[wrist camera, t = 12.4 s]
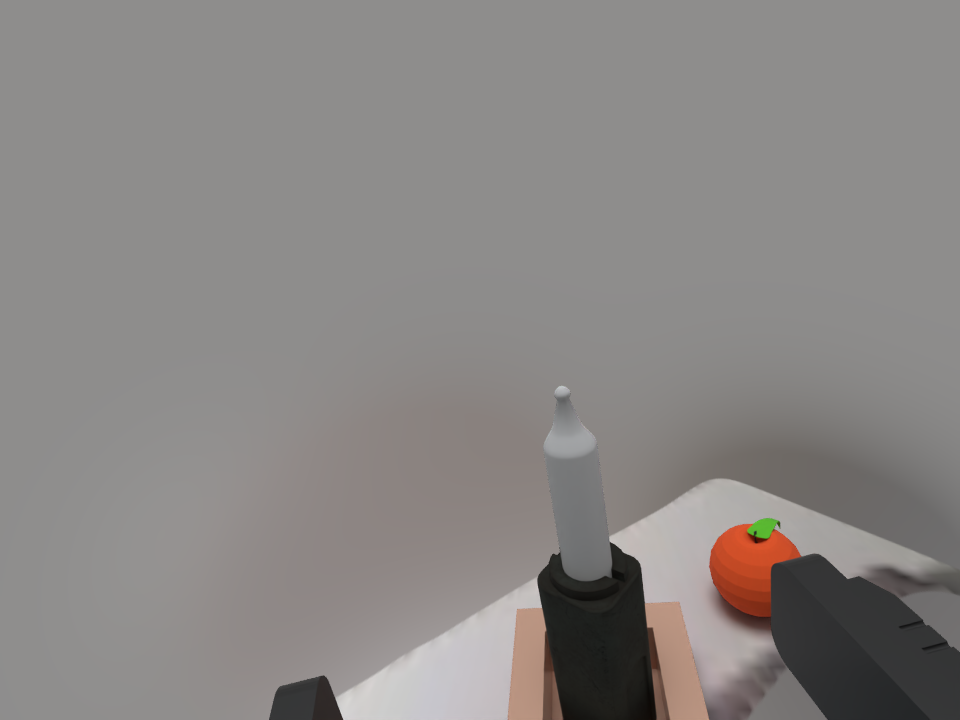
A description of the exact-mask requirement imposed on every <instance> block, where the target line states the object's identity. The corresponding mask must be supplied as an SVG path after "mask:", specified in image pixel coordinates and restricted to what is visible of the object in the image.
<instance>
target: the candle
mask: <svg viewBox="0 0 960 720" xmlns="http://www.w3.org/2000/svg"><path fill="white" fill-rule="evenodd" d="M570 394H571V393H570V390H569V389H568V388H566V387H565V386H560V387H558V388H557V389H556V390H555V392H554V396H555V398H556V399H557V404H556V410H555V416H554V421H553V427H552V429H551V431H550V433H549V434H548V436H547V439H546V441H545V443H544V446H543V450H544V457H545V462H546V469H547V474H548V481H549V487H550V493H551V499H552V505H553V511H554V517H555V523H556V529H557V535H558V541H559V546H560V547H559V549H560V553H559V554H558V555H555V554H552V556H551V558H550V561H549V564H548V565H547V566H546V567H545V568H544V569H543V570H542V571H541V573H540V574H539V576H538V579H537V581H538V588H539V594H540V599H541V604H542V610H543V615H544V620H545V626H546V631H547V636H548V642H549V647H550V653H551V658H552V663H553V669H554V674H555V679H556V685H557V690H558V695H559V701H560V706H561V711H562V717H563V720H657V715H656V705H655V696H654V686H653V677H652V667H651V658H650V648H649V639H648V629H647V620H646V610H645V601H644V591H643V582H642V572H641V566H640V563H639V562H638V560H636V559H635V558H634V557H632V556H630V555H627V554H625V553H623V552H622V550H621V549H620V548H618V547H617V546H616V545H615V544H613V543H611V542H610V541H609V533H608V525H607V517H606V510H605V502H604V494H603V486H602V478H601V470H600V462H599V454H598V446H597V441H596V438H595V437H594V436H593V435H592V434H591V432H590V431H589V430H587V428H586V427H584V426H583V425H582V423H581V421H580V419H579V417H578V415H577V413H576V411H575V409H574V407H573V405H572V403H571V401H570V399H569V397H570Z"/></svg>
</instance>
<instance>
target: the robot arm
mask: <svg viewBox="0 0 960 720" xmlns="http://www.w3.org/2000/svg"><path fill="white" fill-rule="evenodd" d="M771 631H772V635H773V639H774V642H775V645H776V647H777V650H778V652H779V654H780V656H781V658H782V659H783V661H784V663H785V664H786V666H787V667H788V668H789V670H790V671H791V672H792V674H793V675H794V676H795V677H796V679H797V680H798V681H799V683H800V684H801V685H802V687H803V688H804V689H805V690H806V692H807V693H808V694H809V696H810V697H811V698H812V700H813V701H814V702H815V704H816V705H817V706H818V708H819V709H820V710H821V712H822V713H823V714H824V715H825V717H826V718H827V719H828V720H960V652H959V651H958V650H957V649H955V648H954V647H952V648H951V647H950V646H949V645H948V643H947V641H946V640H945V639H944V638H943V637H942V636H941V635H939V634H938V633H937V632H936V631H935V630H934V629H933V628H932V627H930V626H929V625H927V626H926V625H925V624H924V622H923V620H922V619H921V618H920V617H919V616H918V615H917V614H915V612H913V611H912V610H911V609H910V608H909V607H908V606H907V605H905V604H904V603H903V602H902V601H901V600H900V599H899V598H898V597H896V596H895V595H894V594H892V593H890V592H888V591H886V590H884V589H882V588H880V587H879V586H877V585H875V584H873V583H871V582H869V581H867V580H865V579H863V578H861V577H855V578H851V579H847V578H846V577H845V576H844V575H843V574H842V573H840V572H839V571H838V570H837V569H836V568H835V567H834V566H833V565H832V564H831V563H830V562H829V561H828V560H826V559H825V558H824V557H823V556H821V555H819V554H810V555H806V556H802V557H798V558H794V559H790V560H786V561H783V562H779V563H775V564H773V566H772V568H771ZM269 720H343V718H342V715H341V713H340V710H339V707H338V705H337V702H336V699H335V697H334V694H333V692H332V689H331V686H330V684H329V681H328V679H327V678H326V677H325V676H319V677H316V678H311V679H307V680H304V681H300V682H296V683H292V684H288V685H284V686H280V687H279V688H278V690H277V691H276V694H275V697H274V701H273V705H272V710H271V714H270V718H269Z"/></svg>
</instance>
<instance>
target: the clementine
mask: <svg viewBox="0 0 960 720" xmlns="http://www.w3.org/2000/svg"><path fill="white" fill-rule="evenodd" d="M776 524H778V526H779V528H780V522H779V521H778V520H775V519H771V518H765V519H761V520H759V521H757V522H756V523H754V524H743V525H738V526H735V527H732V528H730V529H729V530H727V531H726V532H724V533H723V534H722V535H721V536H720V537H719V538H718V539H717V541H716V543H715V545H714V546H713V548H712V550H711V556H710V565H709V567H710V572H711V576H712V579H713V583H714V584H715V586H716V588H717V589H718V591H719V592H720V594H721V595H722V597H723V598H724V599H725V600H726V601H727V602H729V603H730V604H731V605H732V606H734V607H735V608H737V609H739V610H740V611H742V612H744V613H747V614H750V615H753V616H759V617H771V568H772V566H773V564H775V563H779V562H783V561H786V560H790V559H794V558H798V557H801V555H800V553H799V552H798V550H797V548H796V546H795V545H794V544H793V543H792V542H791V541H790V540H789V539H788V538H787V537H785V536H784V535H783V534H781V533H780V532H778V531H777V530H775V529H774V527H775V526H776Z"/></svg>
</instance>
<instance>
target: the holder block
mask: <svg viewBox="0 0 960 720" xmlns="http://www.w3.org/2000/svg"><path fill="white" fill-rule="evenodd" d="M645 610H646V620H647V629H648V639H649V648H650V658H651V667H652V677H653V686H654V696H655V705H656V715H657V720H709V717H708V713H707V709H706V705H705V701H704V697H703V693H702V689H701V686H700V682H699V678H698V674H697V670H696V666H695V662H694V658H693V654H692V650H691V646H690V642H689V639H688V635H687V631H686V627H685V623H684V619H683V615H682V611H681V607H680V603H679V602H667V603H645ZM508 720H563V717H562V711H561V706H560V701H559V695H558V690H557V685H556V679H555V674H554V669H553V663H552V658H551V653H550V647H549V642H548V636H547V631H546V626H545V620H544V615H543V610H542V608H531V609H517V615H516V627H515V639H514V651H513V663H512V674H511V686H510V698H509V710H508Z"/></svg>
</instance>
